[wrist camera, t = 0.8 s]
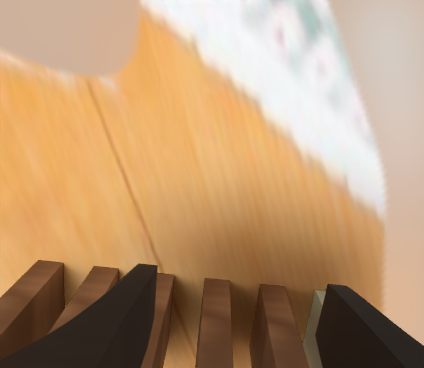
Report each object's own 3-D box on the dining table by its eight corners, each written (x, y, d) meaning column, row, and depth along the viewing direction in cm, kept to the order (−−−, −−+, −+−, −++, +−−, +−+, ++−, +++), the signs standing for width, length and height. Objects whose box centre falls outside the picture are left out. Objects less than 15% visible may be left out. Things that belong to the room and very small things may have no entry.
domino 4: (197, 340, 23) (186, 469, 15) (205, 278, 21) (195, 387, 14) (220, 342, 23) (220, 473, 15) (229, 280, 21) (234, 391, 14)
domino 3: (145, 334, 23) (108, 461, 15) (149, 272, 21) (109, 378, 14) (169, 337, 23) (142, 465, 15) (174, 274, 21) (147, 382, 14)
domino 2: (94, 329, 23) (30, 453, 15) (94, 266, 21) (23, 369, 14) (117, 331, 23) (65, 457, 15) (118, 268, 21) (62, 373, 14)
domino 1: (42, 323, 23) (-48, 445, 15) (38, 260, 21) (-63, 360, 14) (65, 326, 23) (-13, 449, 15) (63, 262, 21) (-25, 364, 14)
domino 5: (249, 345, 23) (263, 477, 15) (260, 283, 21) (281, 396, 14) (272, 348, 23) (297, 481, 15) (284, 286, 21) (319, 400, 14)
